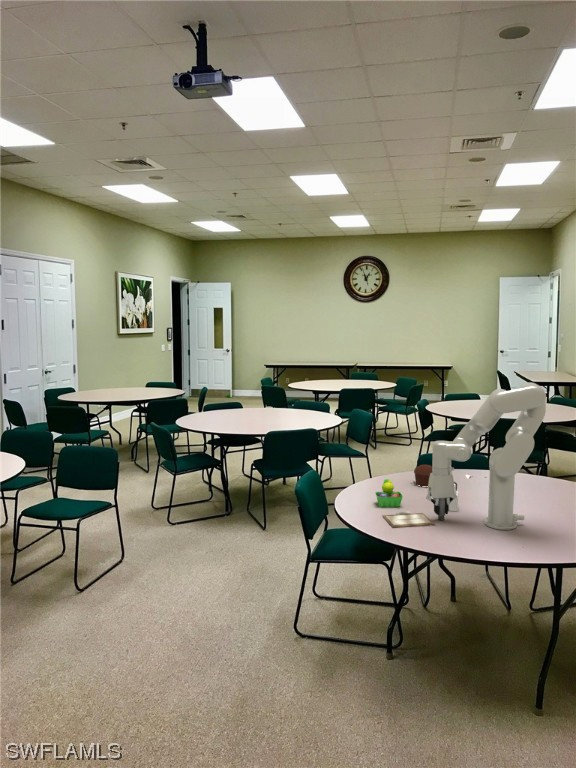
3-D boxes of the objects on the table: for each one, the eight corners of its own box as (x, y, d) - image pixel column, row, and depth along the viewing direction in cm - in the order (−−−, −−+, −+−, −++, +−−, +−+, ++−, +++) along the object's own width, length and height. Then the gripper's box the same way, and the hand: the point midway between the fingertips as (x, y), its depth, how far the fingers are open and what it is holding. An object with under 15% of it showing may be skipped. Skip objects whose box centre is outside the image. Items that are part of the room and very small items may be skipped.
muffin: (411, 486, 283) (411, 467, 281) (415, 480, 293) (415, 461, 292) (435, 489, 278) (436, 469, 277) (438, 483, 288) (439, 463, 287)
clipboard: (422, 514, 243) (422, 510, 243) (435, 525, 230) (435, 521, 230) (382, 516, 240) (382, 513, 240) (392, 527, 228) (392, 524, 227)
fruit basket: (377, 508, 251) (377, 483, 250) (374, 501, 260) (374, 477, 259) (403, 508, 251) (403, 483, 250) (399, 501, 260) (399, 477, 259)
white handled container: (441, 504, 255) (442, 479, 254) (458, 506, 253) (458, 480, 251) (440, 509, 248) (441, 483, 247) (457, 511, 246) (458, 485, 245)
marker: (443, 517, 238) (443, 489, 237) (446, 520, 235) (447, 492, 233) (435, 518, 238) (435, 490, 236) (439, 520, 234) (439, 492, 233)
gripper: (456, 467, 239) (455, 509, 241) (419, 469, 236) (419, 512, 238) (464, 471, 231) (463, 515, 233) (426, 474, 229) (426, 518, 231)
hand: (441, 513), depth 236 cm, fingers closed on marker, 3 cm apart
